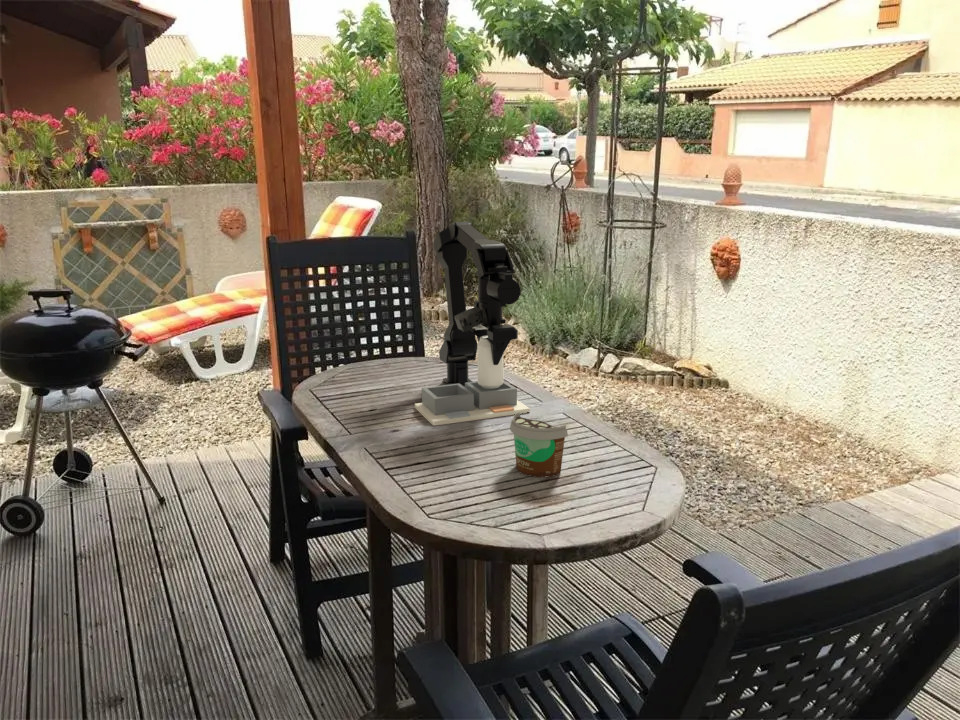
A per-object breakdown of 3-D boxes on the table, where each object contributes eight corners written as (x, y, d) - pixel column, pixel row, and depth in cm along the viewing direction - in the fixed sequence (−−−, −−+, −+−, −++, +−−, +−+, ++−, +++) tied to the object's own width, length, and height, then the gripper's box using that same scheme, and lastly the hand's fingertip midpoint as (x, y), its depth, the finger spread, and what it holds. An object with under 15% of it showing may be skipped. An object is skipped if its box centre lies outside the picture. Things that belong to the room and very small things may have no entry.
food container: (496, 467, 150) (496, 419, 147) (517, 459, 154) (517, 411, 151) (546, 485, 141) (547, 434, 139) (566, 475, 146) (568, 425, 143)
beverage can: (505, 388, 183) (505, 339, 180) (479, 390, 182) (479, 340, 179) (501, 382, 189) (500, 334, 186) (476, 383, 188) (475, 335, 185)
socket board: (414, 407, 186) (414, 387, 184) (505, 396, 194) (506, 377, 193) (433, 425, 173) (432, 404, 172) (529, 412, 182) (530, 392, 180)
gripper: (444, 292, 186) (445, 355, 190) (473, 306, 169) (473, 375, 173) (487, 289, 190) (487, 351, 194) (519, 303, 173) (518, 370, 177)
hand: (490, 361), depth 184 cm, fingers closed on beverage can, 6 cm apart
